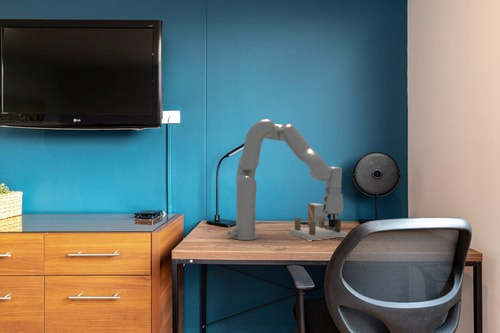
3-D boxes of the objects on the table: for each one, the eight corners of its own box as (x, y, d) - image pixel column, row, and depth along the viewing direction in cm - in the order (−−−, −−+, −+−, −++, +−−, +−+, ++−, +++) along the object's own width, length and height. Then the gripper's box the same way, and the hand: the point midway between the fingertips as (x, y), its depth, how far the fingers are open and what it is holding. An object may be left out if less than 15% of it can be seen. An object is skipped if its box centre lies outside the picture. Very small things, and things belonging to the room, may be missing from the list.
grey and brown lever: (322, 228, 183) (323, 216, 183) (327, 227, 185) (327, 216, 184) (337, 231, 174) (337, 220, 174) (341, 231, 175) (342, 219, 175)
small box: (307, 224, 206) (308, 203, 206) (317, 224, 208) (317, 203, 208) (314, 227, 198) (314, 205, 198) (323, 227, 200) (324, 204, 200)
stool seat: (311, 241, 164) (311, 223, 164) (289, 233, 180) (289, 217, 180) (345, 237, 175) (345, 220, 174) (322, 230, 190) (322, 215, 190)
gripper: (326, 191, 167) (325, 229, 167) (349, 191, 174) (348, 227, 174) (316, 190, 174) (315, 226, 174) (339, 190, 181) (337, 224, 181)
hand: (331, 226), depth 174 cm, fingers closed
